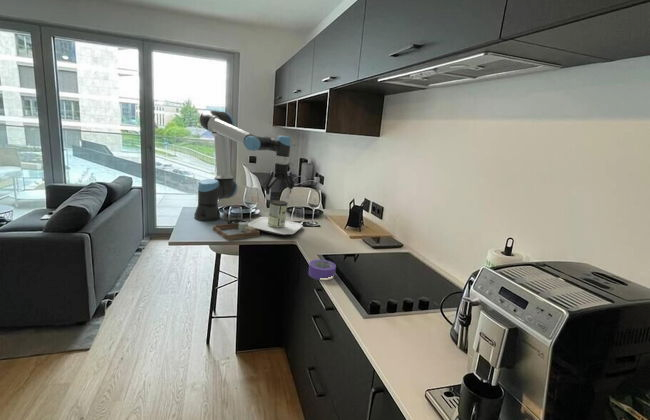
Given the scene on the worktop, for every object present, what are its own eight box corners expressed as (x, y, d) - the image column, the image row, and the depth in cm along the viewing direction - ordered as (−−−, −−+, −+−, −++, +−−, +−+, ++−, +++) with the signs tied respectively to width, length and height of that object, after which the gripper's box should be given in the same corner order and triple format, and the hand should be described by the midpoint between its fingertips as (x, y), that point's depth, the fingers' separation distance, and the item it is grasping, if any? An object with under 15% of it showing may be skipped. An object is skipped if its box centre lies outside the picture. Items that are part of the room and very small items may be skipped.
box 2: (244, 233, 189) (245, 227, 188) (250, 232, 192) (250, 226, 191) (249, 235, 186) (249, 229, 185) (254, 234, 189) (255, 227, 188)
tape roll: (307, 268, 154) (308, 258, 152) (333, 270, 155) (334, 260, 154) (308, 280, 142) (310, 269, 141) (336, 281, 144) (337, 271, 142)
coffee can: (270, 221, 208) (273, 199, 205) (286, 224, 207) (289, 202, 204) (264, 225, 198) (267, 201, 195) (281, 228, 197) (284, 205, 194)
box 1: (238, 229, 195) (238, 222, 194) (244, 228, 198) (245, 222, 197) (240, 231, 192) (241, 224, 191) (247, 230, 194) (247, 224, 193)
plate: (242, 228, 192) (242, 224, 192) (263, 218, 220) (263, 215, 220) (289, 239, 187) (290, 235, 186) (305, 227, 214) (305, 224, 214)
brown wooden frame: (212, 229, 188) (213, 225, 188) (243, 226, 201) (244, 222, 200) (227, 240, 176) (227, 235, 175) (259, 235, 188) (259, 231, 188)
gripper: (266, 163, 183) (263, 201, 188) (302, 165, 200) (298, 199, 205) (259, 161, 188) (256, 198, 194) (295, 162, 205) (291, 196, 210)
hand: (278, 199), depth 199 cm, fingers open, 13 cm apart
